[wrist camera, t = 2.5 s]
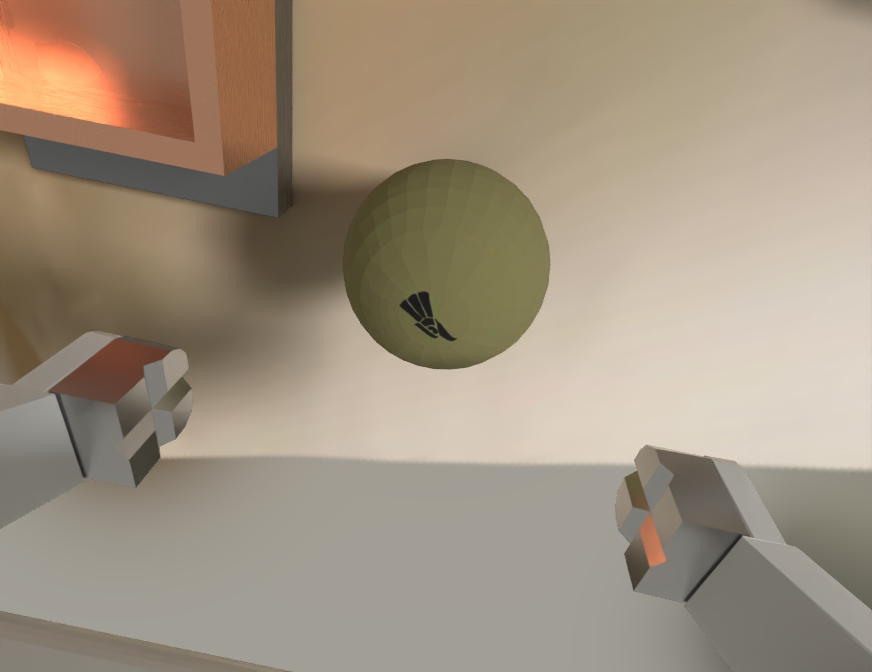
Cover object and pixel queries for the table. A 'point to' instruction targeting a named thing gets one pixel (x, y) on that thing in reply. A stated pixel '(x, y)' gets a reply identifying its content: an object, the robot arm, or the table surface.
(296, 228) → the table surface
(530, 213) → the light bulb
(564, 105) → the table surface
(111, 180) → the desk organizer
